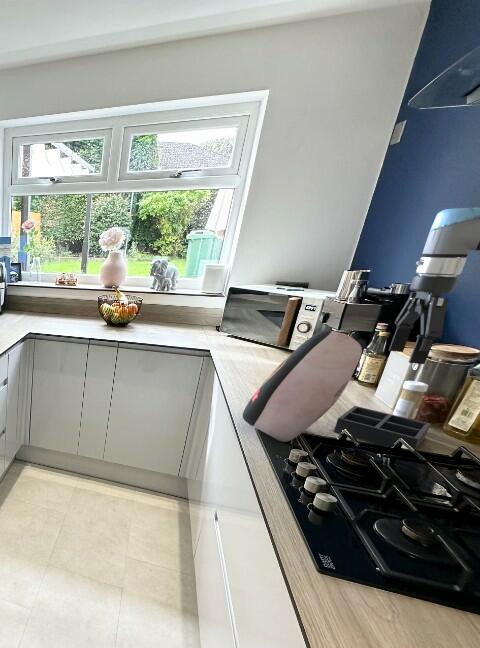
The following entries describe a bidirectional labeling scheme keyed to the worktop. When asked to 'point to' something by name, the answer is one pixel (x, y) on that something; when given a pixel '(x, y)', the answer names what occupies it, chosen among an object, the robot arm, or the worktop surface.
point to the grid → (381, 427)
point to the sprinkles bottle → (410, 399)
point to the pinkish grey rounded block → (304, 385)
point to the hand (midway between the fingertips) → (405, 357)
